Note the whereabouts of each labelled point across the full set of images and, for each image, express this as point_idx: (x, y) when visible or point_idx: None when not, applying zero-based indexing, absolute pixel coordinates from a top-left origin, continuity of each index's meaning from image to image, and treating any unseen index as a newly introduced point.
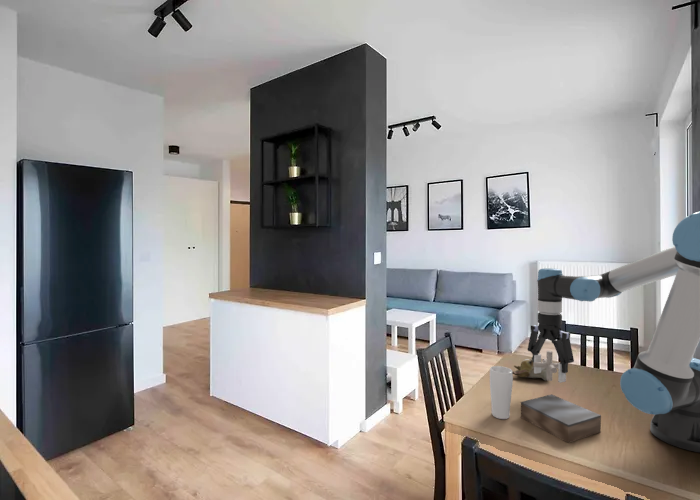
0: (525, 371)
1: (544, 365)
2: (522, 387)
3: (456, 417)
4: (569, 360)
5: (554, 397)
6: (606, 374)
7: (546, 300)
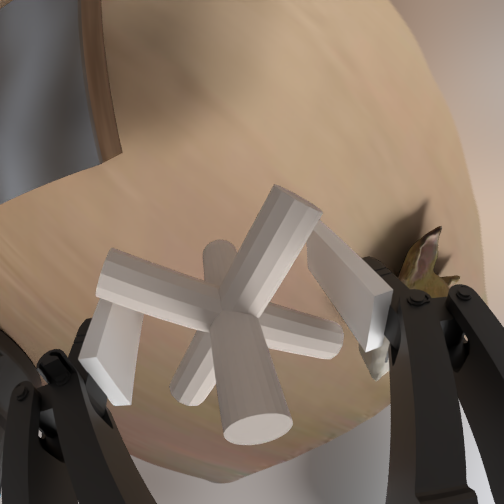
0: (413, 270)
1: (232, 271)
2: (353, 190)
3: None
4: (14, 406)
5: (64, 152)
6: (308, 440)
7: None
